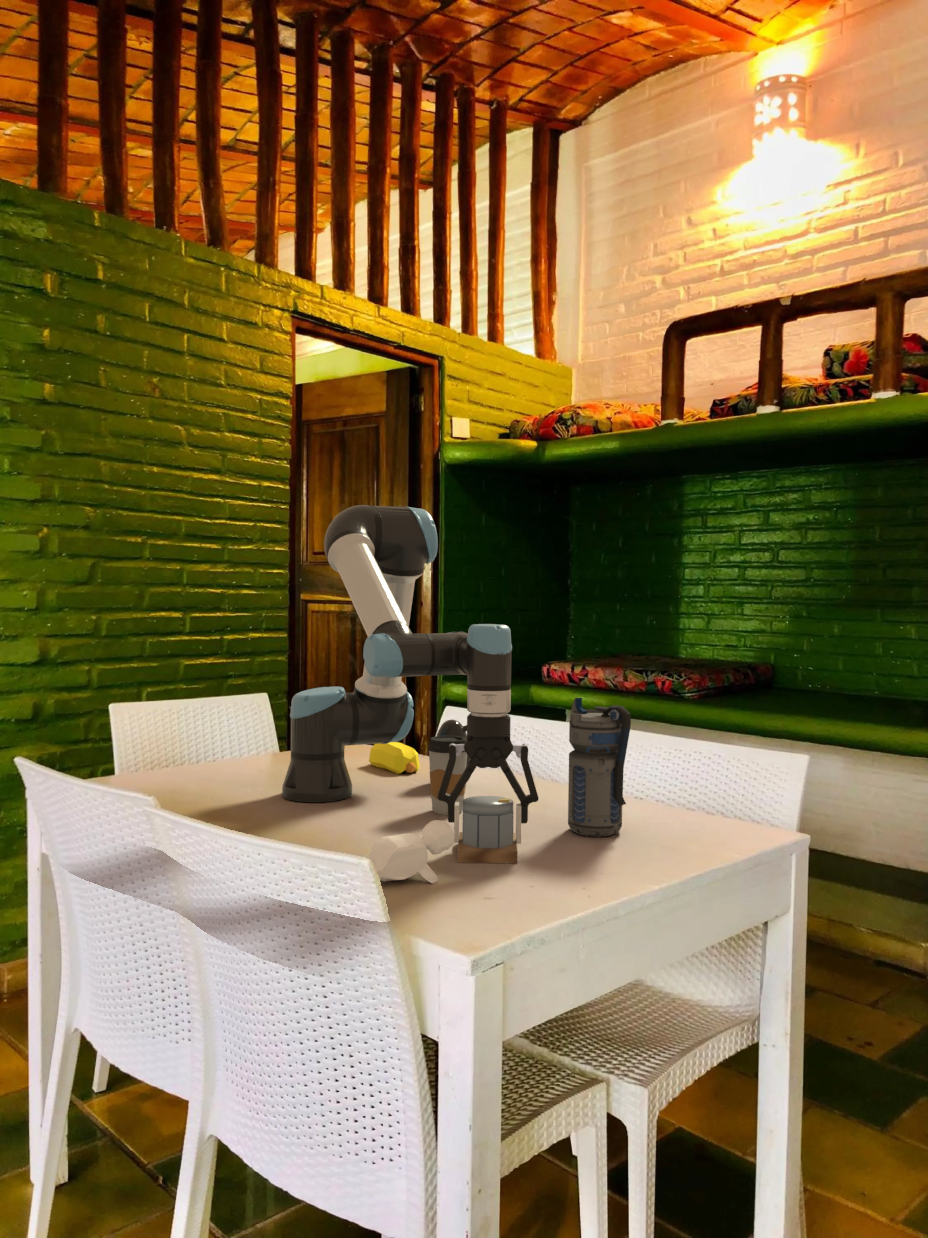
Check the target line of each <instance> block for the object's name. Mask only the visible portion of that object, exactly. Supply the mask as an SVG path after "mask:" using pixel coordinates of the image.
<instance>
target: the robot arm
mask: <svg viewBox="0 0 928 1238" xmlns="http://www.w3.org/2000/svg"><path fill="white" fill-rule="evenodd" d="M326 529H327V530H326V532H325V535H324V540H323V545H324V546H323V547H324V554H325V557H326V560H327V562H328V564H329V566H330V567H331V568H332V570H334V571H335V572H337V573H338V574H339V576H340V578H341V580H342V582H343V585H344V587H345V589H346V591H347V593H348V596H349V598H350V600H351V602H352V605H353V607H354V609H355V611H356V613H357V615H358V616H357V617H358V619H359V620H360V622H361V624H362V627H363V629H364V631H365V634H366V635H367V637H366V639H365V641H364V644H363V653H362V656H363V660H364V664H363V673H362V676H361V677H359V678H357V680H355V682H354V689H353V691H352V692H346V690H345V688H344V687H343V686H335V685H333V686H321V687H315V688H314V687H313V688H310V689H306V690H302V691H300V692H297V693H295V694H294V695H293V696H292V699H291V703H290V704H291V706H290V713H289V717H290V760H289V765H288V768H287V771H286V774H285V777H284V779H283V783H282V791H281V792H282V797H283V798H284V799H286V800H289V801H294V802H301V803H325V802H328V803H329V802H336V801H341V800H345V799H348V798H350V797H351V796H352V795H353V784H352V780H351V777H350V774H349V770H348V767H347V763H346V760H345V747H346V746H356V745H357V746H358V745H359V746H361V745H374V744H379V743H381V744H387V743H389V742H400V741H402V740H403V739H405V738H406V737H407V735H408V734H409V732H410V730H411V729H412V725H413V721H414V715H415V711H414V709H413V708H414V706H415V705H414V699H413V697H412V695H411V694H410V692H408V688H407V685H406V684H405V683H404V682H403V681H402V678H404V677H421V676H452V675H453V676H454V675H457V676H459V675H463V676H467V687H466V690H467V691H466V694H467V701H466V707H467V708H466V709H467V710H466V711H468V713H469V714H467V716H466V725H467V731H466V734H467V740H466V742H465V744H454V743H451V744H450V745H449V760H448V763H447V767H446V770H445V773H444V776H443V780H442V783H441V786H440V789H439V793H438V800H440V801H444V802H446V803H447V804H448V815H447V821H448V823H454V829H453V833H454V835H455V838H454V844H458V843H459V832H460V813H459V802H455V801H456V800H457V798H458V796H459V795H460V793H461V791H462V790H463V788H464V786H465V787H466V784H467V783H468V782H469V781H470V779H471V777H472V774H473V773H474V772H475V770H476V768H477V767H478V768H479V769H486V768H490V769H498V768H500V769H501V770H502V773H503V774H504V776H505V777H506V779H507V781H508V783H509V784H510V786H511V788H512V790H513V792H514V794H515V795H516V797H517V798H518V801H519V802H516V806H515V807H516V812H515V813H516V815H515V835H516V843H517V845H518V844H519V845H521V844H522V824H527V823H528V821H529V820H528V819H529V812H528V811H529V809H528V808H529V805H530V804H533V803H537V802H538V801H539V795H538V794H539V793H538V792H537V789H536V784H535V781H534V777H533V773H532V770H531V767H530V764H529V759H528V757H529V747H528V744H526V743H522V744H513V742H512V741H511V716H510V714H508V713H510V712H511V709H512V708H511V706H512V703H511V702H512V701H511V700H512V699H511V697H512V689H511V687H512V686H511V684H512V655H513V654H512V653H513V652H512V651H513V644H512V634H511V633H512V631H511V628H510V627H509V626H508V625H506V624H498V623H497V624H496V623H478V624H476V623H475V624H474V623H473V624H471V625H470V626H469V628H468V630H467V632H465V631H451V632H445V633H444V632H443V633H442V632H441V633H440V632H439V633H437V632H435V633H433V632H432V633H413V632H412V630H411V628H410V627H409V626H410V620H411V612H412V605H413V600H414V599H413V598H414V591H415V586H416V585H415V583H416V580H417V579H419V578H420V577H421V576H422V575H424V571H425V570H424V569H425V564H426V565H428V564H431V563H433V562H434V561H435V558H436V557H437V554H438V550H439V549H438V548H439V547H438V546H439V543H438V542H439V540H438V539H439V537H438V533H437V532H438V531H437V527H436V524H435V521H434V519H433V516H432V515H431V514H430V513H429V512H428V511H427V510H426V509H423V508H420V507H419V508H417V507H410V506H395V505H393V506H391V505H368V504H358V505H353V506H350V507H348V508H346V509H343V510H342V511H340V512H339V513H338V514H337V515H335V517H334V518H333V520H332V521H331V522H330V523H329V525H328V527H327V528H326ZM464 750H465V752H466V753H467V755H468V756H469V757H470V759H471V760H470V761H469V763H468V765H467V767H466V769H465V770H464V772H463V774H462V775H461V777H460V779H459V780H458V782H457V784H456V785H455V787H454V789H453V790H452V792H451V794H447V793H446V792H447V788H448V785H449V782H450V778H451V775H452V772H453V769H454V765H455V762H456V757H459V756H460V755H461V752H462V751H464ZM512 752H514V753H515V755H516V757H517V758H519V759H520V763H521V767H522V770H523V774H524V778H525V780H526V784H527V788H528V791H529V793H528V794H525V791H524V790H523V788H522V786H521V785H520V783H519V781H518V779H517V778H516V776H515V774H514V772H513V770H512V769H511V767H510V765H509V764H508V761H507V759H508V758H509V756H510V755H511V753H512ZM470 776H471V777H470ZM469 778H470V779H469ZM467 781H468V782H467Z"/></svg>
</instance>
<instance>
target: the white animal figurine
mask: <svg viewBox="0 0 928 1238" xmlns="http://www.w3.org/2000/svg"><path fill="white" fill-rule="evenodd" d="M421 835H422V836H420V835H419V834H417V833H412V832H407V833H401V834H396V835H389V836H383V837H381V838H379V839H378V840H377V841H375V843H374V844H373V846H372V847H371V850H370V852H369V854H368V855H367V857H366V859H367V858H369V859H371V860H372V862H373V863H374V866H375V868H376V871H377V873H378V875H379V878H380V879H381V880H380V881H381V882H391V881H403V880H406V879H408V878H409V879H410V877H413V876H414V875H415V874H418V875H419V876H420V877H422V878H423V879H424V880H426V881H427V882H428V883H431V884H437V883H438V881H439V879H438V877H437V875H436V873H435V871H433V869H431V867H430V866H429V864H428V859H429V857H428V853H429V852H430V854H431V855H434V856H437V855H440V854H442V853H443V852H445V851H448V850H449V849H451V848H452V846H454V844H455V843H454V838H455V835H454V829H453V828H452V826H451V825H450V824H449V822H447V821H445V820H442V819H441V820H439V819H436V820H431V821H429V822H428V823H426V824H425V826H424V827H423V828H422V831H421ZM428 851H429V852H428Z"/></svg>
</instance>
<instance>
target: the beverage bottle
mask: <svg viewBox="0 0 928 1238" xmlns="http://www.w3.org/2000/svg"><path fill="white" fill-rule="evenodd" d="M570 708H571V709H570V714H569V722H568V723H569V724H568V725H569V729H568V730H569V733H568V735H569V736H568V737H569V739H568V741H569V744H570V745H571V747H572V748H573V750H571V751H570V752H569V753H568V793H567V794H568V795H567V796H568V797H567V798H568V800H567V801H568V802H567V807H568V809H567V825H568V827H569V829H570V830H571V831H572V832H573V833H576V834H579V835H581V834H582V836H585V835H587V837H594V836H602V837H609V836H608V835H610V836H612V834H613V835H615V834H618V833H619V832H620V830H621V829H622V826H623V806H624V805H626V804H627V803H626V800H625V799H624V795H623V794H624V768H625V760H626V755H627V749H628V743H629V737H630V733H631V732H630V731H631V723H632V722H631V721H632V720H631V719H632V715H631V714H632V713H630V712H629V711H628V709H626V708H625V706H622V705H613V704H612V705H610V706H608V707H607V706H605V707H604V706H600V705H599V706H594V709H590V708H589V709H584V707H583V697H574V700H573V703H572V704H571V707H570Z"/></svg>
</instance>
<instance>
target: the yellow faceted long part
mask: <svg viewBox="0 0 928 1238" xmlns="http://www.w3.org/2000/svg"><path fill="white" fill-rule="evenodd" d="M368 762H369V763H370V764H371V765H372V766H373V767H375V766H376V768H379V769H386V770H388V771H390V772H392V773H394V774H396V775H400V774H402V773H403V772H405V773H409V774H410V773H417V772H418V771H419V769H420V767H421V765H420V757H419V753H418V752H417V751H416V749H415V748H414V747H411V746H409V745H406V744H405V743H402V742H400V741H397V742H389V743H387V744H381V743H379V744H373V746H371V748H370V752H369V757H368Z"/></svg>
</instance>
